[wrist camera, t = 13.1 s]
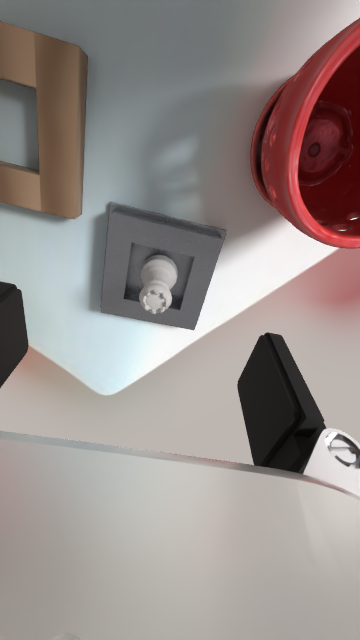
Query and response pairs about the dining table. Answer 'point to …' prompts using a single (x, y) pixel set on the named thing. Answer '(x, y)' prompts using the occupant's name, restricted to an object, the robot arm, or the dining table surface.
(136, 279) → the holder
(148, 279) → the rook chess piece
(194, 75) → the dining table surface
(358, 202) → the plant pot
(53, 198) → the socket block
